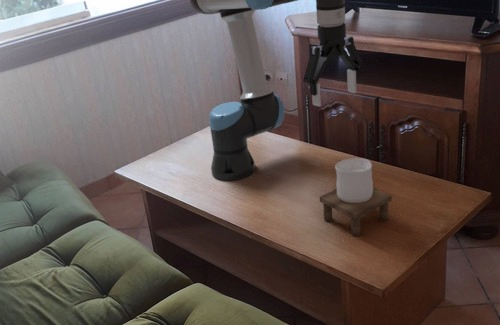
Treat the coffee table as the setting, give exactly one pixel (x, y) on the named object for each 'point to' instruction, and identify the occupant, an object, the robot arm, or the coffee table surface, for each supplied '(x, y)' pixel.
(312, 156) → the coffee table surface
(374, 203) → the footstool
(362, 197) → the cup
